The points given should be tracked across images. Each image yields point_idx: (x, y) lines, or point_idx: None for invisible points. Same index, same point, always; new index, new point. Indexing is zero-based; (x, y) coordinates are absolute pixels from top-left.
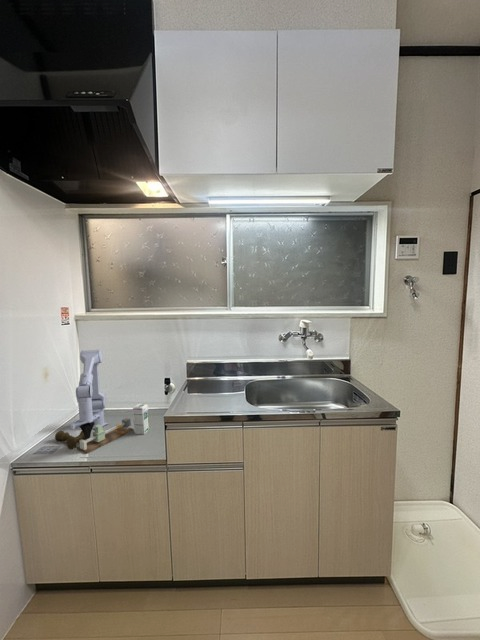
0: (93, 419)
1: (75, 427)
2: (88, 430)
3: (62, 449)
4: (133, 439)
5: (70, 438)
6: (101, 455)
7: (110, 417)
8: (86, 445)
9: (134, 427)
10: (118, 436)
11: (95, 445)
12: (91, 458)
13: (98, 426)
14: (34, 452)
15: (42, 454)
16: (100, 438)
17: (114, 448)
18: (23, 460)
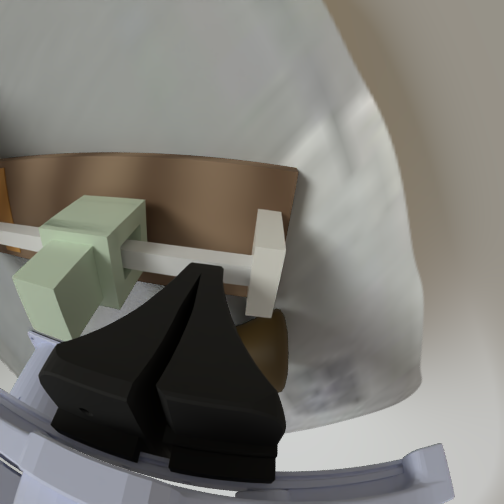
0: (17, 443)
1: (385, 466)
2: (193, 327)
3: (300, 352)
4: (12, 57)
5: (278, 382)
6: (263, 29)
7: (17, 350)
8: (259, 223)
9: None
10: (23, 158)
11: (180, 190)
12: (335, 71)
13: (43, 299)
14: (351, 405)
15: (363, 379)
16: (109, 207)
17: (131, 33)
18: (409, 387)
